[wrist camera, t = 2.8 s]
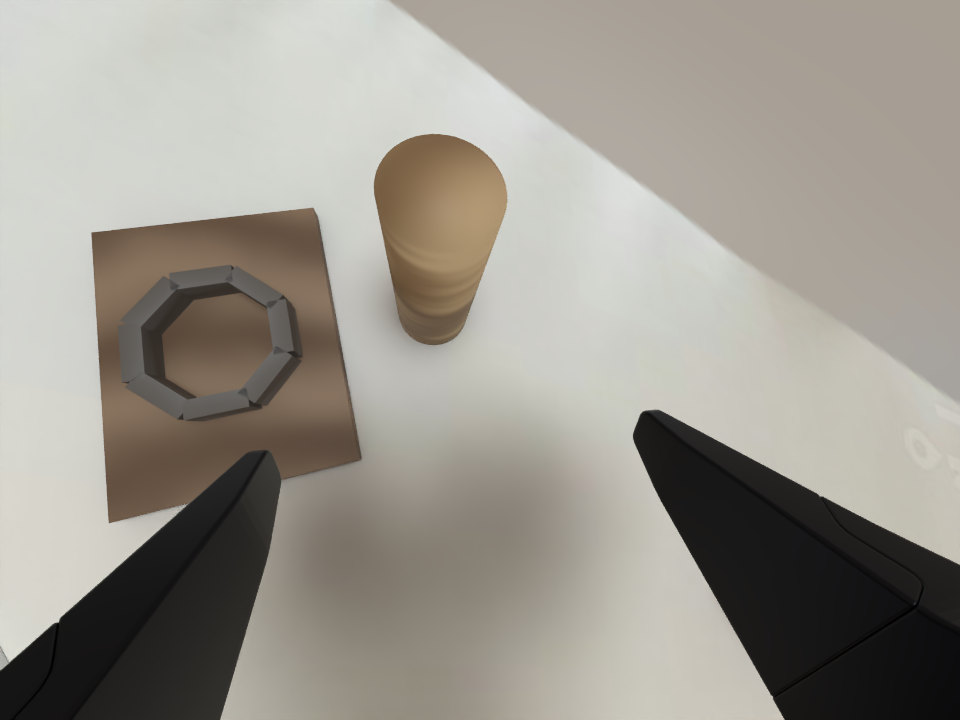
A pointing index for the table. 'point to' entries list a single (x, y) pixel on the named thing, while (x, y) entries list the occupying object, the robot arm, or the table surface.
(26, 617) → the table surface
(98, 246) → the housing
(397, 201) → the light brown tall cylinder
